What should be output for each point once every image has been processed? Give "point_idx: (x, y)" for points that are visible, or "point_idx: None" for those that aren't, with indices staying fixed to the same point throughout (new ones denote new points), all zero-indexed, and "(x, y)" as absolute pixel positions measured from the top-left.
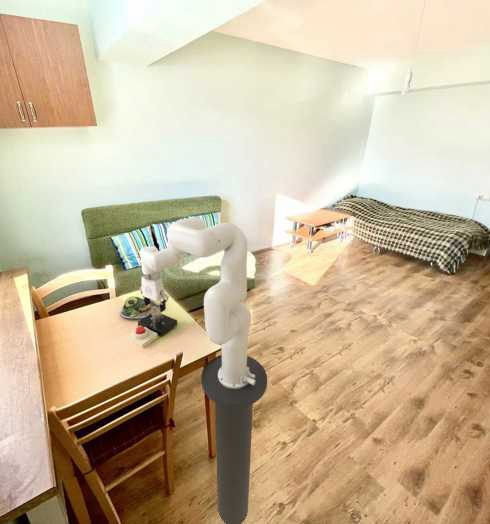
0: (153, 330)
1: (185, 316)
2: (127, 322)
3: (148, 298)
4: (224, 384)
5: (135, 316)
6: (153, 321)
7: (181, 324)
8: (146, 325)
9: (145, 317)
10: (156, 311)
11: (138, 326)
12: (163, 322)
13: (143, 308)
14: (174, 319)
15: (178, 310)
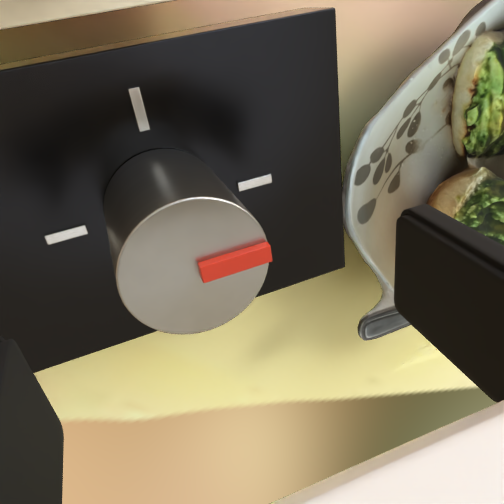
0: (27, 63)
1: (146, 417)
2: (460, 11)
3: (482, 351)
4: None
5: (447, 94)
6: (159, 156)
7: None
8: (178, 46)
9: (330, 139)
10: (202, 279)
11: (298, 9)
12: (79, 246)
13: (455, 205)
14: (48, 362)
15: (253, 403)
